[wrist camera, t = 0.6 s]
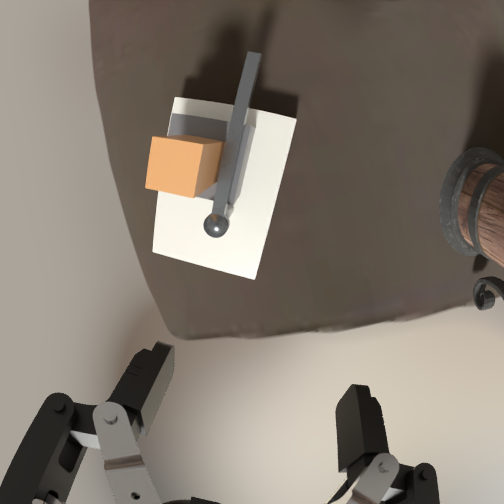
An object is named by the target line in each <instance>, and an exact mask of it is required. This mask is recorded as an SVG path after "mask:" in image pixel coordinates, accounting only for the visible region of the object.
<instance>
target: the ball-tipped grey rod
mask: <svg viewBox="0 0 504 504" xmlns="http://www.w3.org/2000/svg"><path fill="white" fill-rule="evenodd" d="M261 60H262V54H261V53H255V52H249V51H248V53H247V57H246V60H245V64H244V68H243V72H242V76H241V80H240V84H239V88H238V92H237V96H236V100H235V104H234V108H233V112H232V117H231V121H230V125H229V130H228V134H227V139H226V143H225V148H224V153H223V157H222V162H221V167H220V172H219V177H218V182H217V187H216V192H215V197H214V202H213V207H212V213H210V214H209V215H208V216H207V217H206V219H205V220H204V223H203V227H204V230H205V232H206V233H207V234H208V235H209V236H211V237H213V238H219V237H222V236H223V235H224V234H225V233H226V232H227V230H228V228H229V226H230V220H229V218H228V216H227V215H226V211H227V206H228V201H229V196H230V192H231V187H232V182H233V178H234V173H235V169H236V164H237V159H238V155H239V151H240V146H241V142H242V137H243V133H244V129H245V125H246V120H247V116H248V112H249V108H250V104H251V100H252V96H253V92H254V88H255V84H256V80H257V76H258V72H259V68H260V64H261Z"/></svg>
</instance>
